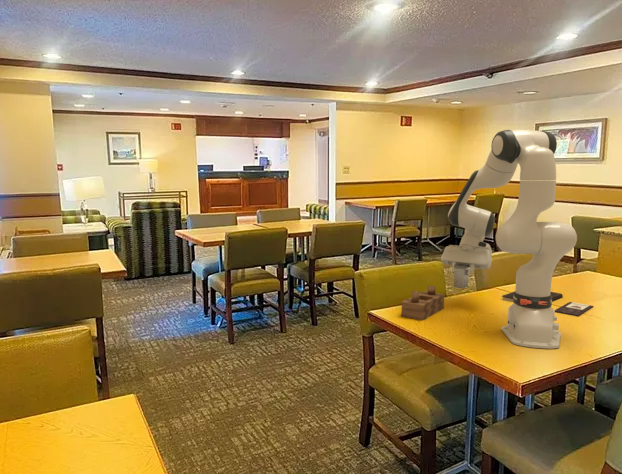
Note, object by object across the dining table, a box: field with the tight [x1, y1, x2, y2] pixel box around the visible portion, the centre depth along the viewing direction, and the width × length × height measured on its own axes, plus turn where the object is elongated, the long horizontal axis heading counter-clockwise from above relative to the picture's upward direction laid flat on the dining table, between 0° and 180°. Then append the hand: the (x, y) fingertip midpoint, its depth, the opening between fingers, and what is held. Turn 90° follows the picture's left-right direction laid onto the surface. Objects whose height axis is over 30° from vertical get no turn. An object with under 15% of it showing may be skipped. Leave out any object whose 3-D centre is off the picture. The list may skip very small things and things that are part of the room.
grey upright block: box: [453, 264, 470, 290], centre depth 193 cm, size 5×4×9 cm
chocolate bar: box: [554, 301, 594, 318], centre depth 191 cm, size 9×1×18 cm
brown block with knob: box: [401, 285, 445, 321], centre depth 190 cm, size 20×9×10 cm, turn 141°
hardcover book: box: [501, 291, 564, 303], centre depth 208 cm, size 16×23×2 cm
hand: (460, 273), depth 193 cm, fingers closed on grey upright block, 4 cm apart
